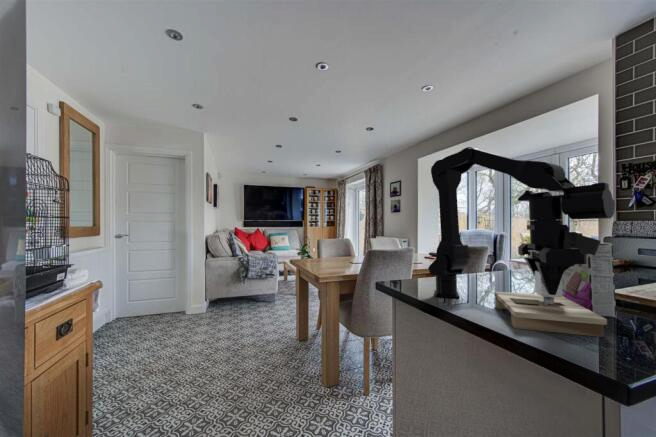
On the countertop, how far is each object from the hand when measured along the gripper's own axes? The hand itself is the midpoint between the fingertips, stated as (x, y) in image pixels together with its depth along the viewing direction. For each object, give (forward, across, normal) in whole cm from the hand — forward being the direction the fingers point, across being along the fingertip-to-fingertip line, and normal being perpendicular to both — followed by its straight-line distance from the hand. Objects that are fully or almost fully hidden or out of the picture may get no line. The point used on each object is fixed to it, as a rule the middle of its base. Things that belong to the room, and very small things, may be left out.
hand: (548, 292), depth 60 cm
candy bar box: (+6, +11, -11) cm, 17 cm away
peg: (+6, 0, 0) cm, 6 cm away
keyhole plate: (+6, 0, +2) cm, 6 cm away
